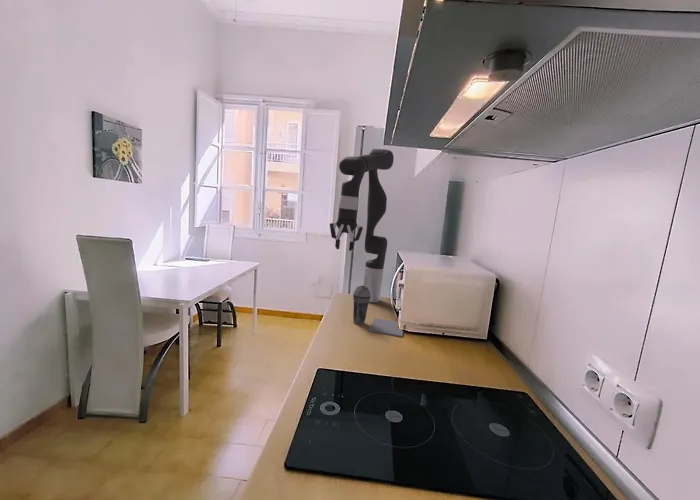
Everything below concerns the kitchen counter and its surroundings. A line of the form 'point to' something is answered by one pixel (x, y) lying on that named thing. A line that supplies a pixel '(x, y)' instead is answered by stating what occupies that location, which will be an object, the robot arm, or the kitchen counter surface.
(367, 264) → the robot arm
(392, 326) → the rubber mat
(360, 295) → the beverage cup
